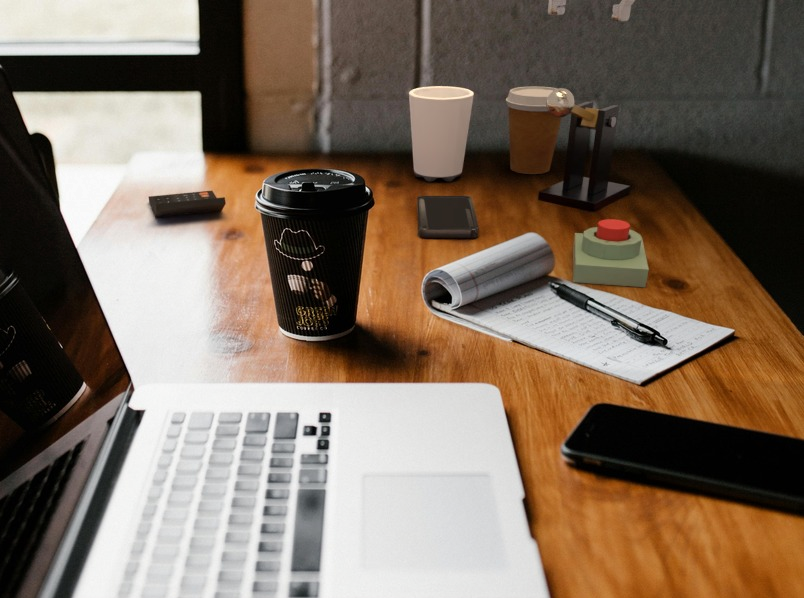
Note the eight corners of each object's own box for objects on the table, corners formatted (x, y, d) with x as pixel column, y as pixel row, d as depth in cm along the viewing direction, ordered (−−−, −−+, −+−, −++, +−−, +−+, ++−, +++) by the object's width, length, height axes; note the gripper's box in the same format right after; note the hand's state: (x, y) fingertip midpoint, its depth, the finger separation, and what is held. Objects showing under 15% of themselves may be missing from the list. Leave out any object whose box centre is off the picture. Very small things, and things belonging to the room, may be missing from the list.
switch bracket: (593, 211, 121) (606, 117, 114) (537, 199, 126) (547, 108, 119) (629, 193, 128) (643, 103, 121) (574, 183, 133) (585, 96, 126)
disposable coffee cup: (547, 180, 134) (556, 99, 128) (490, 172, 139) (496, 93, 132) (568, 166, 141) (577, 89, 135) (514, 158, 146) (520, 83, 139)
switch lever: (562, 116, 111) (570, 87, 110) (538, 112, 113) (545, 83, 112) (605, 136, 122) (613, 109, 121) (582, 132, 124) (590, 106, 123)
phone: (418, 229, 111) (417, 195, 124) (418, 238, 112) (416, 202, 124) (480, 230, 111) (472, 195, 123) (479, 238, 111) (471, 203, 124)
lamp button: (628, 244, 99) (631, 229, 98) (596, 242, 99) (598, 227, 99) (626, 234, 102) (629, 220, 101) (595, 232, 102) (597, 218, 102)
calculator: (212, 196, 129) (210, 176, 127) (227, 219, 119) (225, 198, 117) (149, 202, 126) (146, 181, 125) (158, 226, 117) (155, 204, 115)
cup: (444, 165, 142) (448, 83, 136) (481, 179, 135) (487, 93, 129) (394, 173, 138) (396, 90, 131) (430, 188, 131) (433, 101, 124)
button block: (645, 287, 97) (651, 253, 95) (573, 282, 99) (577, 249, 97) (639, 254, 106) (644, 222, 104) (572, 249, 108) (576, 218, 106)
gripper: (698, -113, 97) (675, 22, 104) (548, -111, 110) (536, 9, 117) (670, -113, 93) (648, 27, 100) (517, -111, 106) (508, 13, 113)
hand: (587, 17), depth 109 cm, fingers open, 8 cm apart
